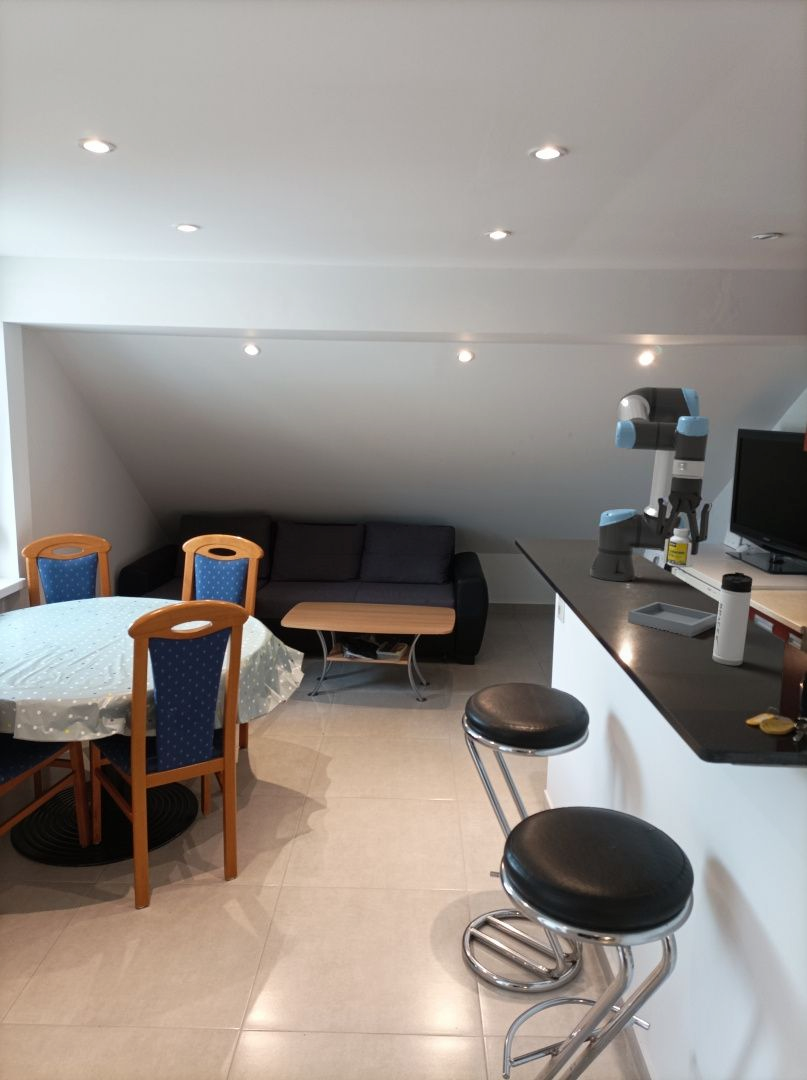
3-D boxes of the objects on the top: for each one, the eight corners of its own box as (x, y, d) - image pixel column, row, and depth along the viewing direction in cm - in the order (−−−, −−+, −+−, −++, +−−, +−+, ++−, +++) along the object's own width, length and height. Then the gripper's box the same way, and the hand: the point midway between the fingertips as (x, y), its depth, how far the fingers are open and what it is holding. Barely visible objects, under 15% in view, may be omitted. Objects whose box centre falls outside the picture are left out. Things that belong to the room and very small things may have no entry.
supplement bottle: (663, 564, 197) (667, 528, 196) (672, 562, 201) (676, 526, 199) (683, 568, 194) (687, 531, 192) (692, 566, 197) (696, 529, 196)
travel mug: (743, 660, 170) (754, 574, 167) (740, 667, 165) (751, 579, 162) (714, 654, 174) (724, 570, 170) (710, 662, 168) (720, 575, 165)
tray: (655, 612, 211) (656, 601, 211) (716, 625, 200) (717, 614, 199) (627, 622, 199) (628, 611, 198) (690, 637, 187) (692, 625, 187)
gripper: (647, 474, 196) (638, 560, 200) (718, 481, 184) (707, 572, 188) (658, 472, 202) (650, 557, 206) (729, 479, 190) (718, 569, 194)
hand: (677, 564), depth 197 cm, fingers closed on supplement bottle, 5 cm apart
